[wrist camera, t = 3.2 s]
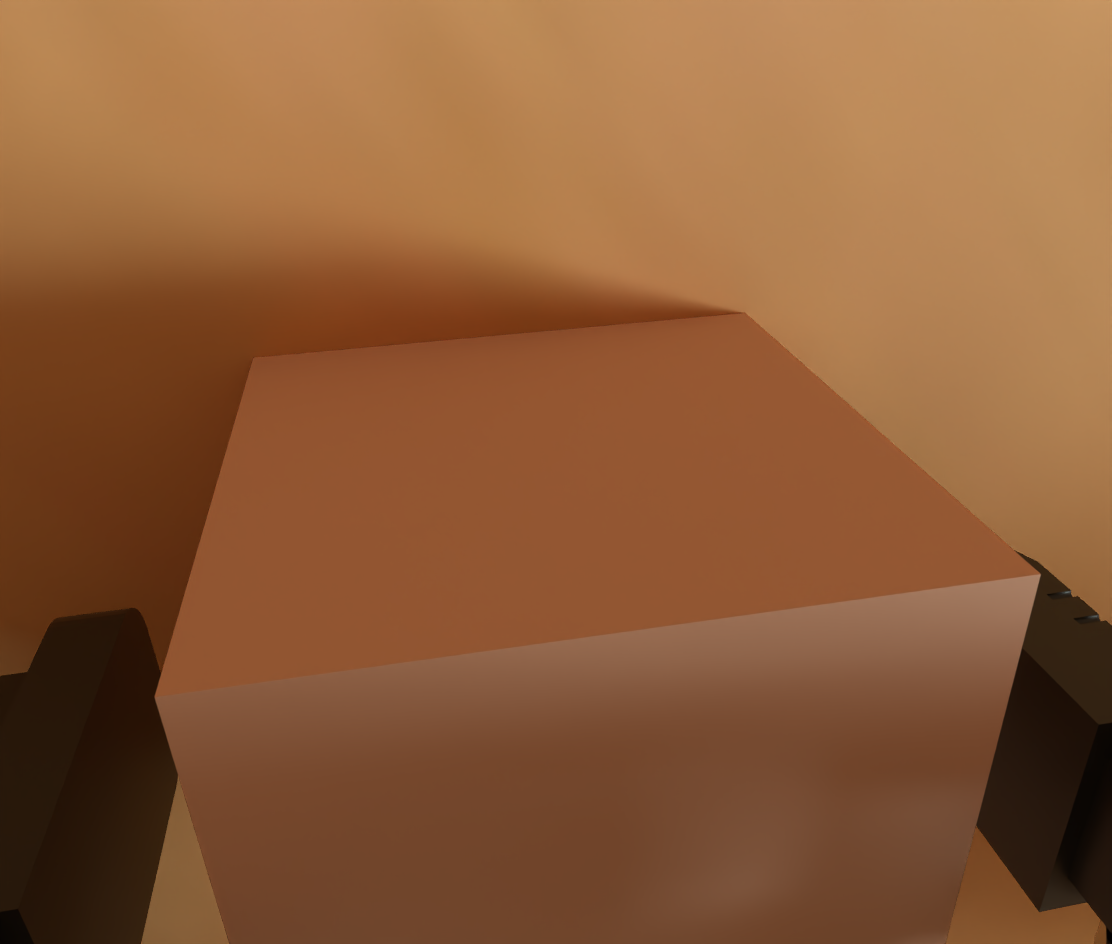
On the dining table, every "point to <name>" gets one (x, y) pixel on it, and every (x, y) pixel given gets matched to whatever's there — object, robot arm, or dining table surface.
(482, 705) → the terracotta cube
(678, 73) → the dining table surface
